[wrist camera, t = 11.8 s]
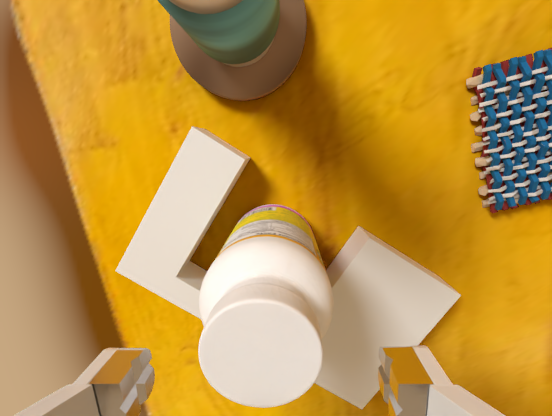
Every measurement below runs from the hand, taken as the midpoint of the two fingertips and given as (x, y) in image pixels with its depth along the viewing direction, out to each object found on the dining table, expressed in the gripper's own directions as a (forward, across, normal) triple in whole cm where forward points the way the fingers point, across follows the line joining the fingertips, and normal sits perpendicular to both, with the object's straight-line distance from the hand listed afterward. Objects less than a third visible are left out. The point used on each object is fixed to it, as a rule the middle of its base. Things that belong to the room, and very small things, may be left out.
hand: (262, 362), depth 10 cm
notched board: (+13, 0, +2) cm, 13 cm away
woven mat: (+14, -20, -7) cm, 25 cm away
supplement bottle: (+13, 0, 0) cm, 13 cm away
